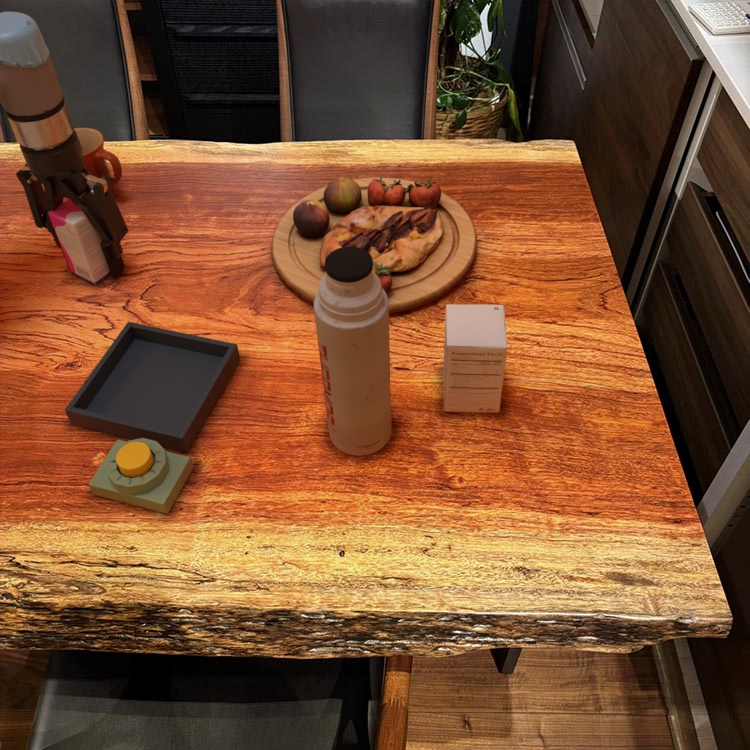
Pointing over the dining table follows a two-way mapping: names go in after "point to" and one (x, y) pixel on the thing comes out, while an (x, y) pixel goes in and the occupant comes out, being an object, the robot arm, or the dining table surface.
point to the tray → (154, 386)
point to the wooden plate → (378, 237)
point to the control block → (143, 478)
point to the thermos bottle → (354, 352)
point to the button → (134, 459)
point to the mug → (98, 156)
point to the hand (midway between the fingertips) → (97, 267)
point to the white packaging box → (474, 357)
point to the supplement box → (80, 243)
